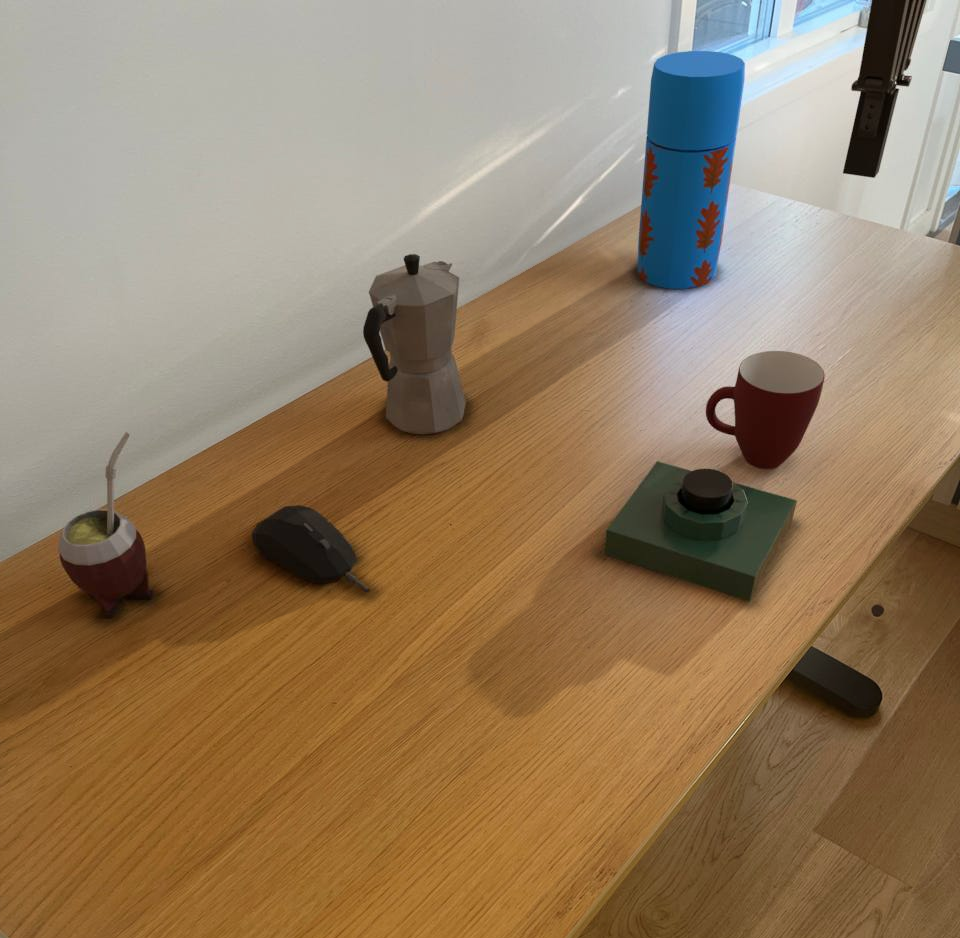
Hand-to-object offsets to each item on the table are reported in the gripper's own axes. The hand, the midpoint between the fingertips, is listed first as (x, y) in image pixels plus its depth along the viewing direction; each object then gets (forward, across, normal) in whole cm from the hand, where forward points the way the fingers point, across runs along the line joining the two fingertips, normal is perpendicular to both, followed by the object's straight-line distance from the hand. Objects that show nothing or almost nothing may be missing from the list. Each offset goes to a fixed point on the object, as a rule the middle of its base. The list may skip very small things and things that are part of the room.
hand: (860, 172), depth 82 cm
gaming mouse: (+27, -41, +34) cm, 59 cm away
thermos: (+27, +30, +26) cm, 48 cm away
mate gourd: (+26, -53, +47) cm, 76 cm away
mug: (+27, -7, +3) cm, 28 cm away
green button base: (+26, -22, +3) cm, 34 cm away
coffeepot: (+27, -16, +38) cm, 49 cm away
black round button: (+22, -22, +3) cm, 31 cm away
